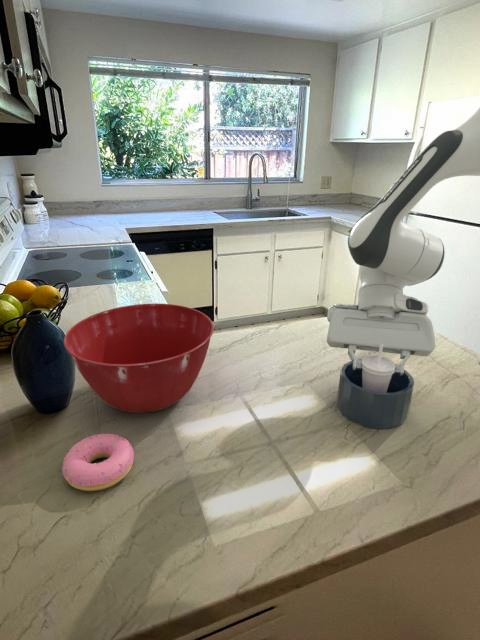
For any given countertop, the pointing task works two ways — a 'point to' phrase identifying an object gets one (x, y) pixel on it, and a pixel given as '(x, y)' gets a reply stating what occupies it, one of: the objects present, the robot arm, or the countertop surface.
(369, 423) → the pot
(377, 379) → the smoothie
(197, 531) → the countertop surface
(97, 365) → the mixing bowl
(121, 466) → the doughnut
